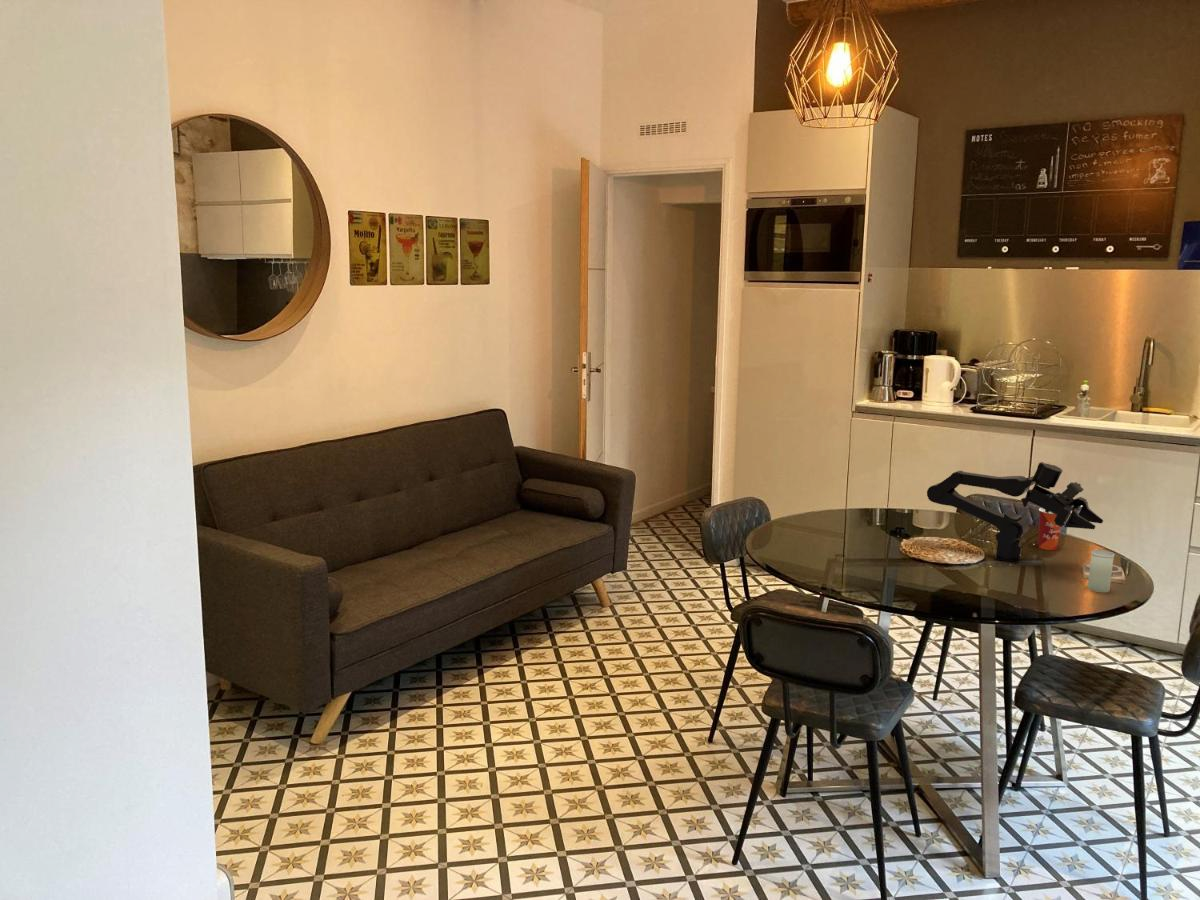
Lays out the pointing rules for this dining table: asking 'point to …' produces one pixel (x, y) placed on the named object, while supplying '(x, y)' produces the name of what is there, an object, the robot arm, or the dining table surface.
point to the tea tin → (1100, 571)
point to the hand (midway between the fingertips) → (1098, 524)
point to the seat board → (1115, 576)
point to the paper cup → (1048, 531)
